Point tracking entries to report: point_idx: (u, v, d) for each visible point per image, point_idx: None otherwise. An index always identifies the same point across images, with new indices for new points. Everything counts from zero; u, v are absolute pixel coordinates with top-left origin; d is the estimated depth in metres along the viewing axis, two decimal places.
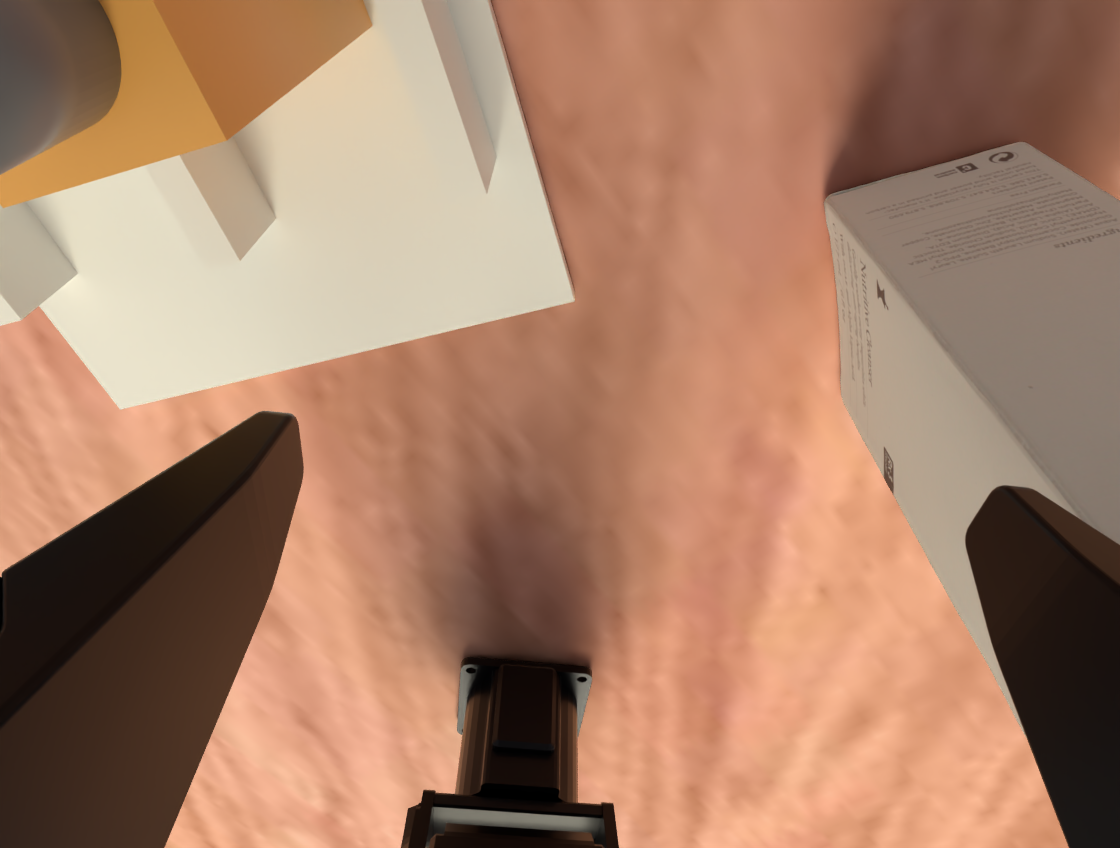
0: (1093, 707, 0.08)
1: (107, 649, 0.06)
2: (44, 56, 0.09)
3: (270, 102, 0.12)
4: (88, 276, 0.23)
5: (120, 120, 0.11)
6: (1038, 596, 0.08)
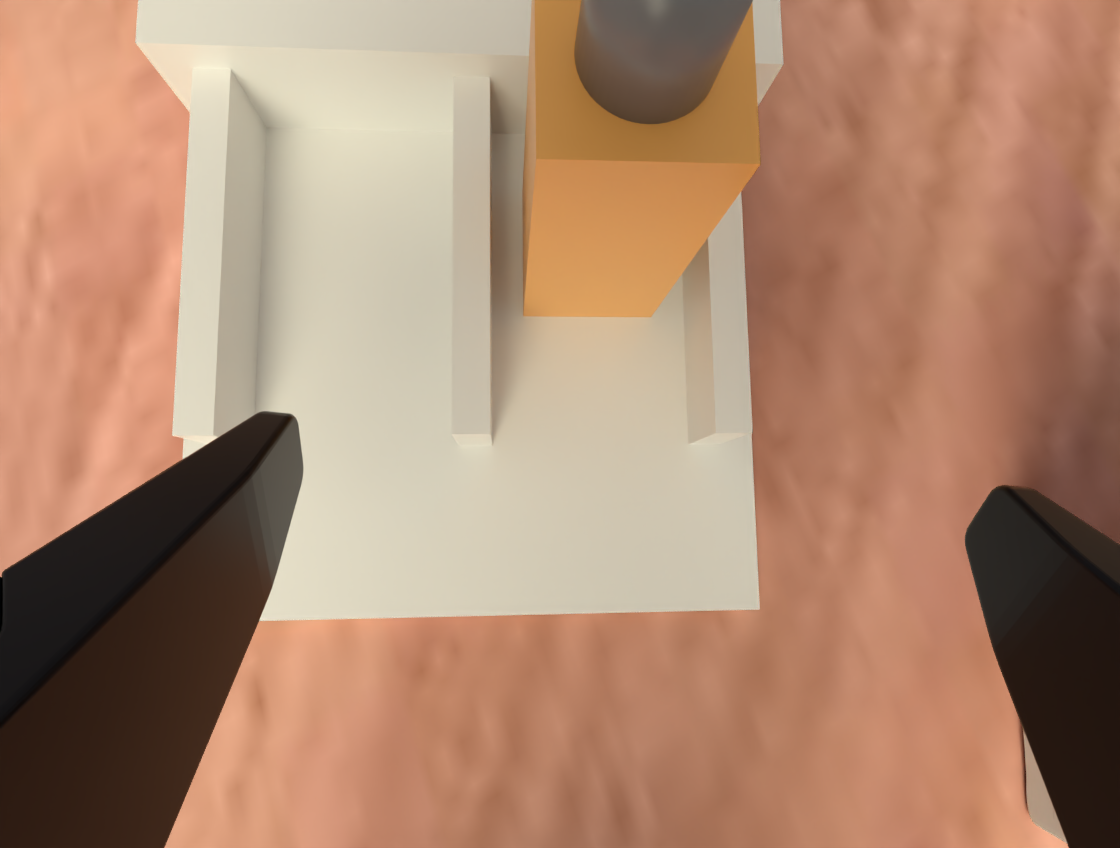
0: (1093, 707, 0.08)
1: (107, 649, 0.06)
2: None
3: (726, 209, 0.15)
4: None
5: (683, 127, 0.13)
6: (1038, 596, 0.08)
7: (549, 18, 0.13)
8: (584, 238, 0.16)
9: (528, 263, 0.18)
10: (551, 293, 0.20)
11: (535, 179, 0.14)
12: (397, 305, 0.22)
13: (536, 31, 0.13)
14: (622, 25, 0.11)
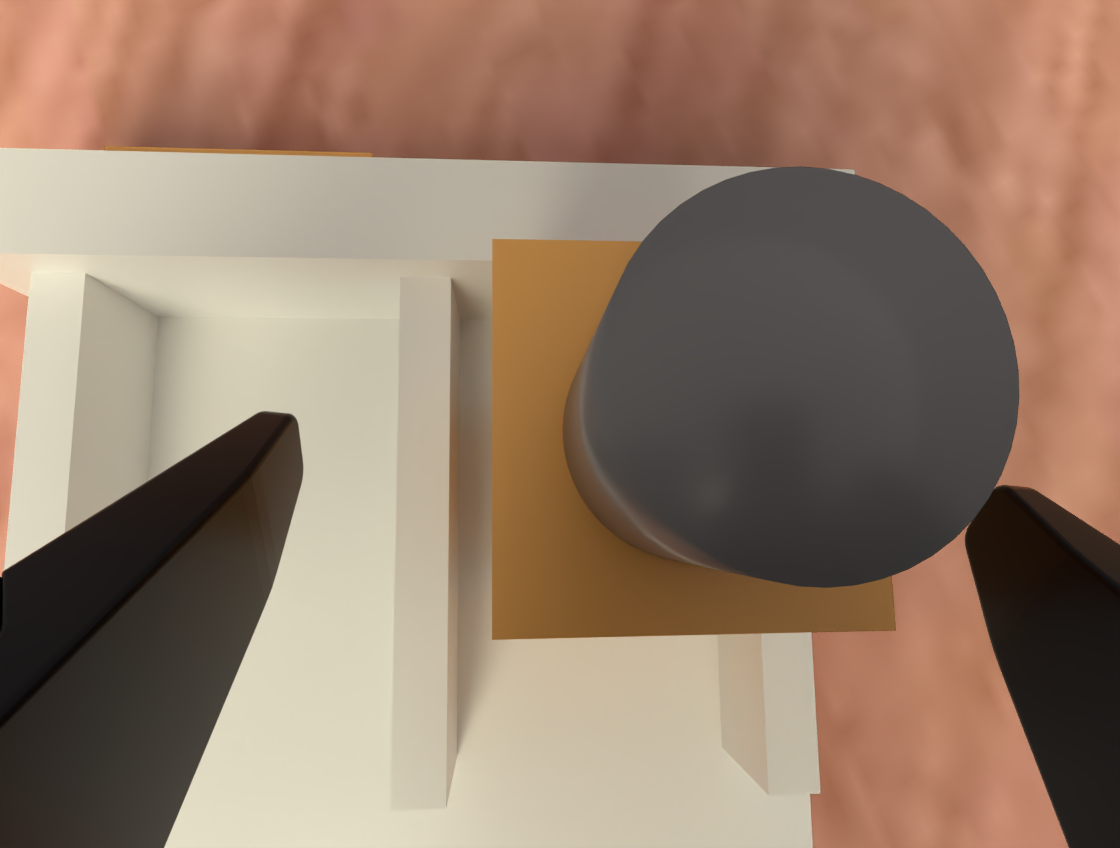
0: (1093, 707, 0.08)
1: (107, 649, 0.06)
2: None
3: None
4: None
5: None
6: (1038, 596, 0.08)
7: (518, 365, 0.07)
8: None
9: None
10: None
11: None
12: (331, 560, 0.17)
13: (494, 393, 0.07)
14: (660, 538, 0.05)
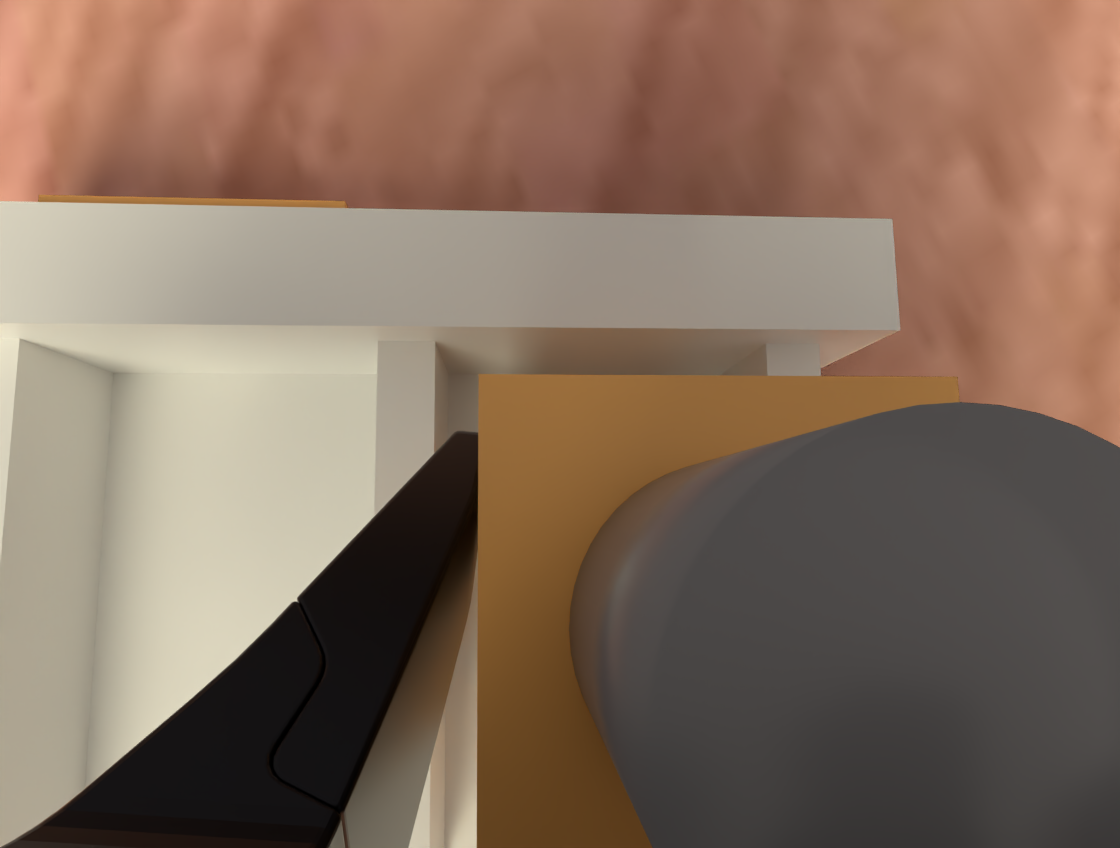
0: None
1: (411, 674, 0.06)
2: None
3: None
4: None
5: None
6: None
7: (512, 542, 0.06)
8: None
9: None
10: None
11: None
12: None
13: (481, 581, 0.06)
14: None
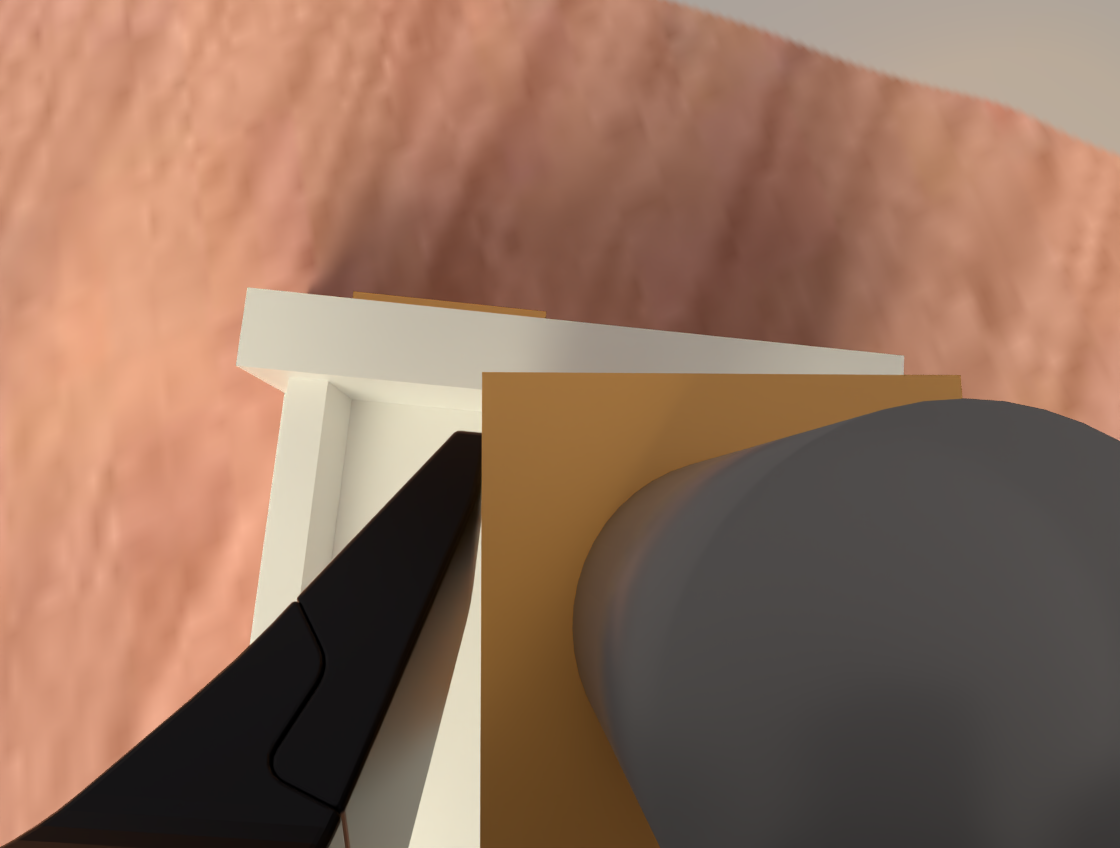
0: None
1: (411, 674, 0.06)
2: None
3: None
4: None
5: None
6: None
7: (515, 539, 0.06)
8: None
9: None
10: None
11: None
12: None
13: (484, 579, 0.06)
14: None
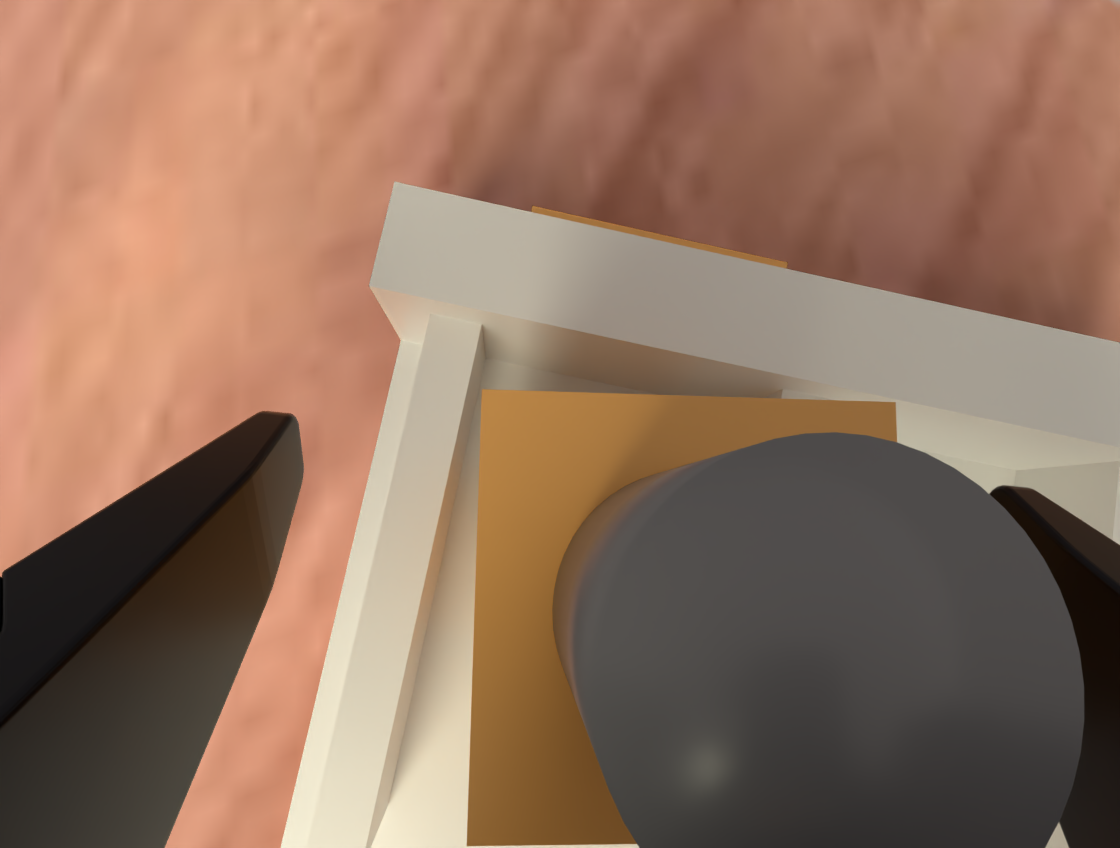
0: (1093, 707, 0.08)
1: (107, 649, 0.06)
2: None
3: None
4: (397, 817, 0.16)
5: None
6: None
7: (506, 533, 0.07)
8: None
9: None
10: None
11: None
12: None
13: (478, 565, 0.07)
14: None
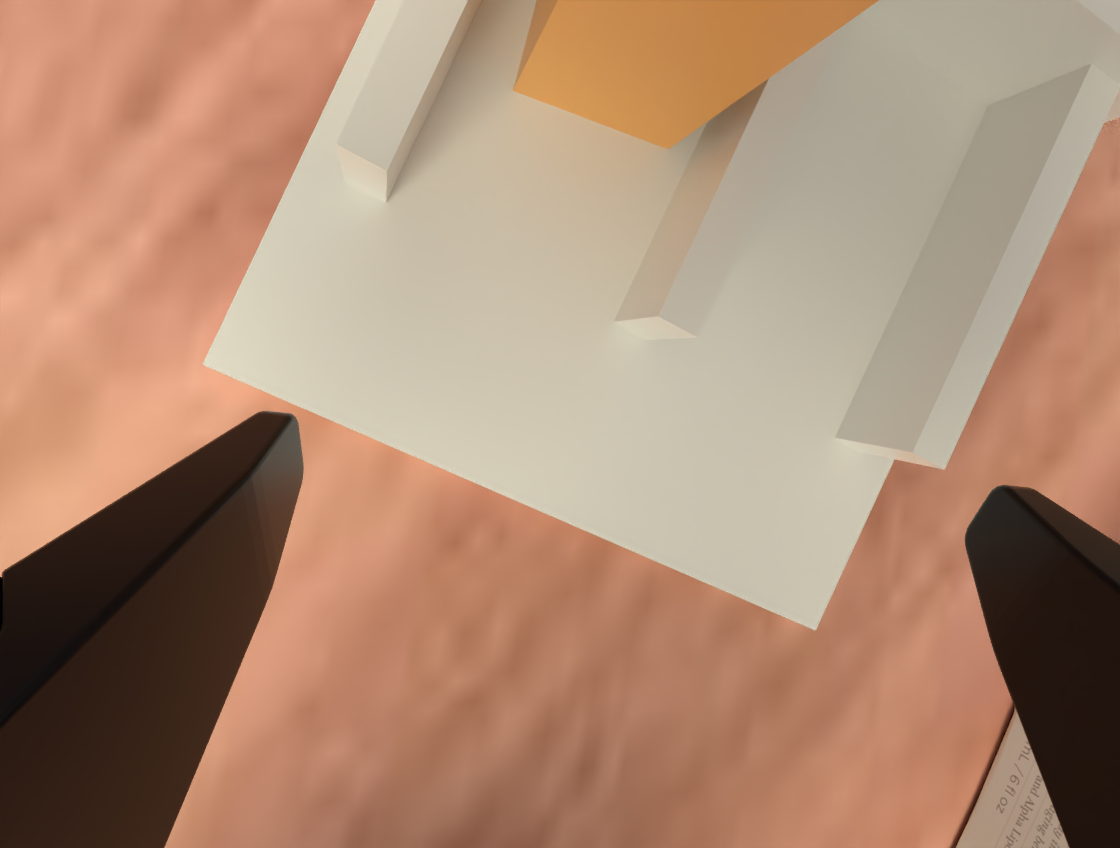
0: (1093, 707, 0.08)
1: (107, 649, 0.06)
2: None
3: None
4: (393, 215, 0.17)
5: None
6: (1038, 596, 0.08)
7: None
8: None
9: None
10: (566, 62, 0.15)
11: None
12: None
13: None
14: None
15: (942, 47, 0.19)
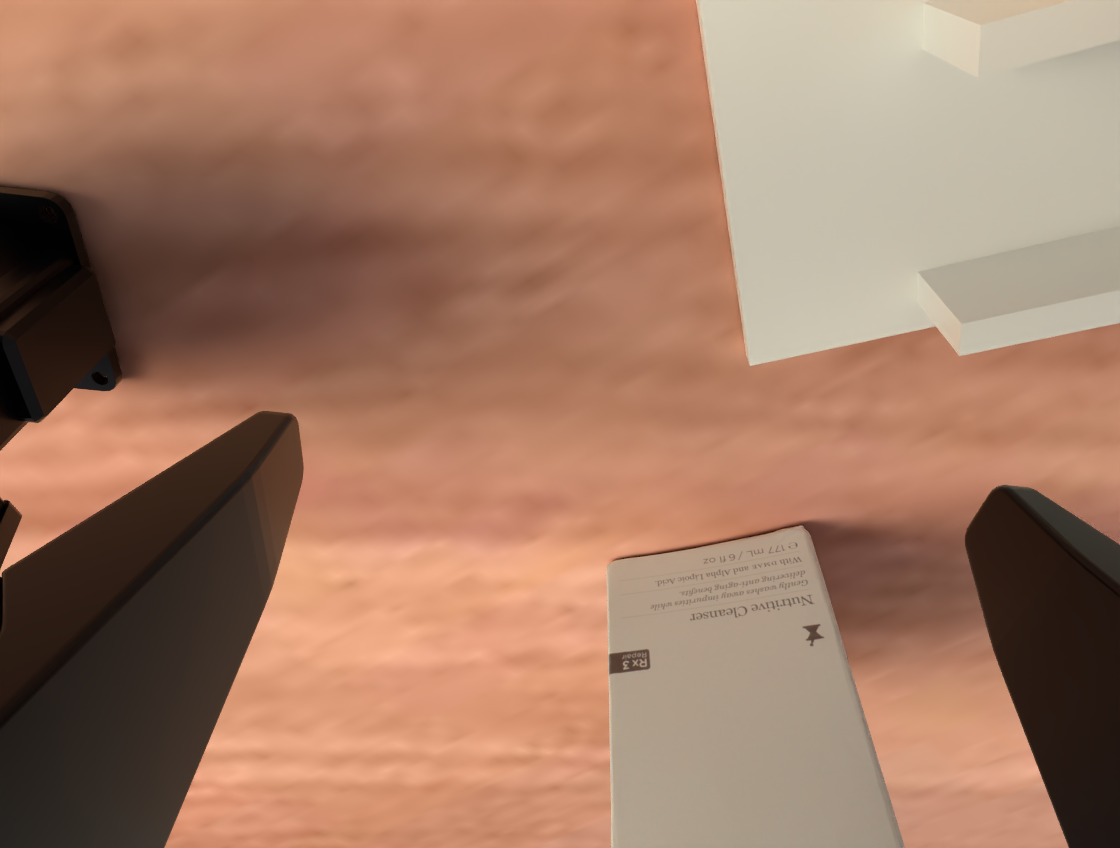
0: (1093, 707, 0.08)
1: (107, 650, 0.06)
2: None
3: None
4: None
5: None
6: (1038, 596, 0.08)
7: None
8: None
9: None
10: None
11: None
12: None
13: None
14: None
15: None
